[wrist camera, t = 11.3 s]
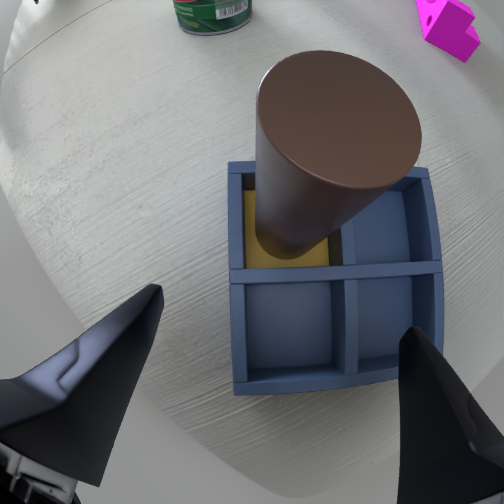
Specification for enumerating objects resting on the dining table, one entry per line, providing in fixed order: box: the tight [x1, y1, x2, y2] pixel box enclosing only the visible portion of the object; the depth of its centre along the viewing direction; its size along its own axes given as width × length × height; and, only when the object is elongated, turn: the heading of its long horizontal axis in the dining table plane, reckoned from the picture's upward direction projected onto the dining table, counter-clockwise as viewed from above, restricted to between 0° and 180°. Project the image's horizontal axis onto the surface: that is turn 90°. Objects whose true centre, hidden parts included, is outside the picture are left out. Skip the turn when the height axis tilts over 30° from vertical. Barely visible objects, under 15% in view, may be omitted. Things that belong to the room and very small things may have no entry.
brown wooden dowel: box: [255, 50, 422, 260], centre depth 12 cm, size 4×4×13 cm
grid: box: [228, 161, 444, 395], centre depth 17 cm, size 13×13×4 cm
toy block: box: [416, 0, 481, 63], centre depth 19 cm, size 15×6×8 cm, turn 163°
